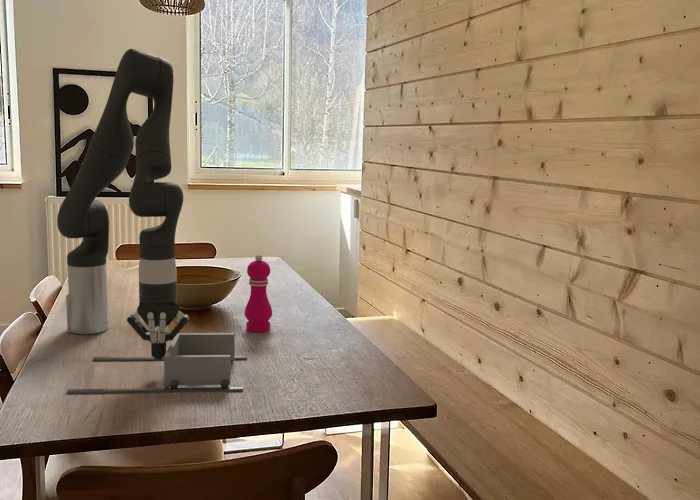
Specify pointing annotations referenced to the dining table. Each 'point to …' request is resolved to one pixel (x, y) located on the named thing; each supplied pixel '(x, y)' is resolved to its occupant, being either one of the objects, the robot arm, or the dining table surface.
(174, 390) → the track
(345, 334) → the dining table surface
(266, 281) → the pepper mill
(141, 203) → the robot arm
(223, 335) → the frame
